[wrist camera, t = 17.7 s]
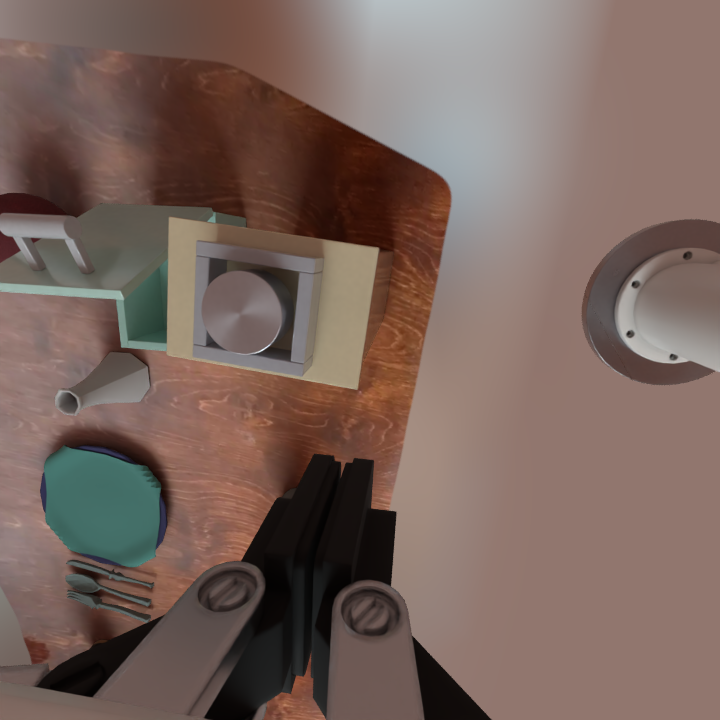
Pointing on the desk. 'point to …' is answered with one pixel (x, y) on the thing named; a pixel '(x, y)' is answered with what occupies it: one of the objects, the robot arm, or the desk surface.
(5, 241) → the decorative ball
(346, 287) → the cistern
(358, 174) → the desk surface
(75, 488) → the cutlery set
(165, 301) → the bowl box
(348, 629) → the robot arm
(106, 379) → the flask
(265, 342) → the flush button
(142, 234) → the pale green box lid
